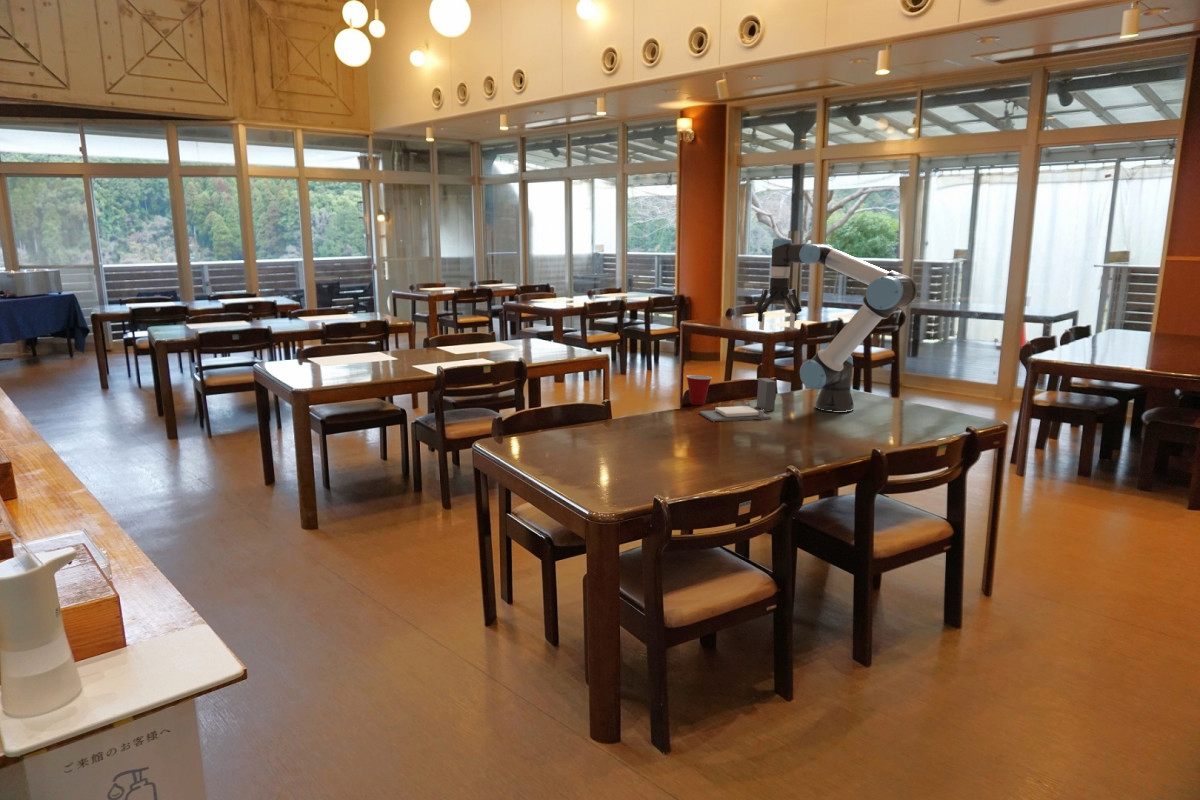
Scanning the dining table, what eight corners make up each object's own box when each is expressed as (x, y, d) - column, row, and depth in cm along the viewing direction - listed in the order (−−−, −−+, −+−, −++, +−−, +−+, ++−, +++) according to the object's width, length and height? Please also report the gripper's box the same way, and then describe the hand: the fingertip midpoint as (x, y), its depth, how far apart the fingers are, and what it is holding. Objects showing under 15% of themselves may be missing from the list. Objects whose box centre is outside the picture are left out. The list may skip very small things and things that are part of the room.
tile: (747, 405, 314) (715, 407, 310) (760, 412, 303) (726, 413, 300) (747, 409, 314) (715, 411, 311) (759, 415, 304) (726, 417, 300)
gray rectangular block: (765, 406, 325) (767, 378, 323) (774, 410, 318) (776, 381, 315) (756, 406, 324) (758, 378, 322) (765, 411, 317) (766, 382, 314)
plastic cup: (715, 403, 330) (716, 375, 327) (704, 407, 321) (705, 379, 319) (691, 399, 336) (692, 372, 333) (680, 404, 327) (681, 376, 324)
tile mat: (754, 410, 317) (755, 402, 316) (770, 419, 303) (771, 410, 303) (699, 413, 311) (699, 404, 310) (713, 422, 297) (713, 413, 297)
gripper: (803, 276, 323) (799, 327, 328) (747, 276, 317) (744, 328, 322) (812, 277, 316) (808, 330, 321) (755, 277, 310) (752, 331, 315)
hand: (776, 329), depth 321 cm, fingers open, 13 cm apart
